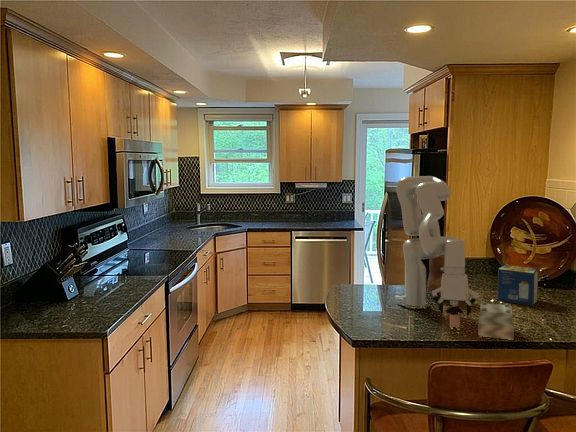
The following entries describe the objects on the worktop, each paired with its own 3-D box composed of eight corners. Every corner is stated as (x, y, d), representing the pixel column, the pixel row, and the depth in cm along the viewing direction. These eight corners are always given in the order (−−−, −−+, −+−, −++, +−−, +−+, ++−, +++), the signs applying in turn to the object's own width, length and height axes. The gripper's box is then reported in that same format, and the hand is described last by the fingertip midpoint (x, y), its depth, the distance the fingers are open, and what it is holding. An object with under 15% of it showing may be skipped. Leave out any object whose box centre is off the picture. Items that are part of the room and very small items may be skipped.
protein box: (502, 295, 225) (503, 264, 223) (537, 300, 215) (538, 268, 214) (496, 300, 217) (497, 268, 215) (532, 306, 207) (534, 272, 206)
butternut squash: (459, 302, 216) (460, 250, 213) (431, 302, 216) (431, 250, 214) (449, 294, 230) (450, 245, 227) (423, 294, 230) (423, 245, 227)
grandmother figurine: (461, 327, 182) (461, 296, 181) (465, 330, 179) (465, 299, 177) (442, 327, 182) (442, 297, 181) (445, 331, 178) (446, 299, 177)
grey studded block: (478, 337, 171) (478, 309, 170) (478, 326, 182) (478, 300, 181) (513, 341, 167) (514, 312, 166) (511, 330, 178) (512, 303, 177)
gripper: (430, 271, 178) (430, 314, 179) (478, 273, 171) (478, 318, 172) (432, 267, 185) (432, 309, 186) (478, 269, 178) (478, 312, 179)
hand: (454, 313), depth 179 cm, fingers open, 9 cm apart
